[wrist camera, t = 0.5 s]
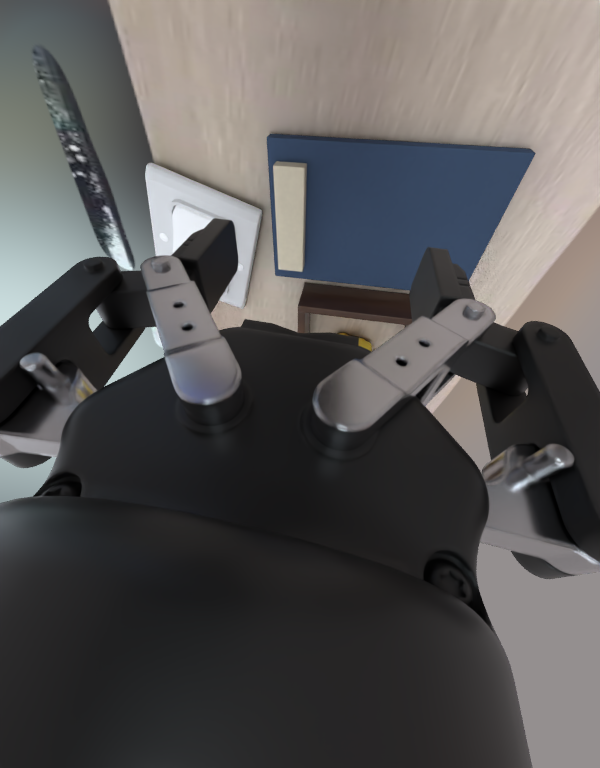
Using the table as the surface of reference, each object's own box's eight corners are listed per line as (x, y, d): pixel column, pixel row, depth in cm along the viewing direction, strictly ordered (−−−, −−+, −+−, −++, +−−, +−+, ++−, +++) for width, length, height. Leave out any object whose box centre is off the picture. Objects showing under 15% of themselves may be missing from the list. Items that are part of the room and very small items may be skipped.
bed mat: (270, 133, 23) (262, 140, 22) (530, 148, 21) (541, 157, 20) (277, 270, 33) (272, 281, 31) (458, 289, 31) (462, 302, 29)
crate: (304, 282, 33) (298, 305, 31) (424, 295, 32) (428, 321, 29) (302, 374, 46) (297, 396, 44) (387, 386, 45) (387, 409, 42)
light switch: (149, 292, 34) (128, 176, 24) (165, 272, 37) (152, 158, 26) (236, 324, 36) (252, 228, 25) (246, 303, 38) (265, 206, 28)
